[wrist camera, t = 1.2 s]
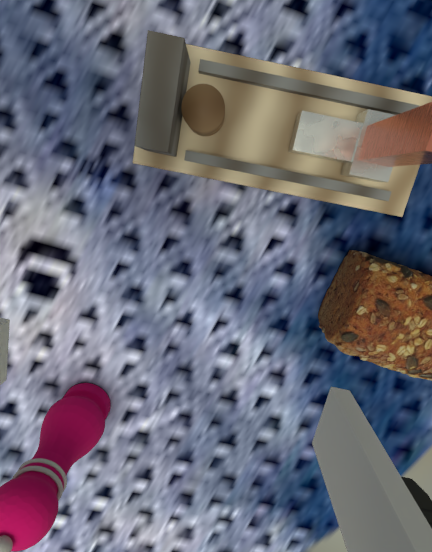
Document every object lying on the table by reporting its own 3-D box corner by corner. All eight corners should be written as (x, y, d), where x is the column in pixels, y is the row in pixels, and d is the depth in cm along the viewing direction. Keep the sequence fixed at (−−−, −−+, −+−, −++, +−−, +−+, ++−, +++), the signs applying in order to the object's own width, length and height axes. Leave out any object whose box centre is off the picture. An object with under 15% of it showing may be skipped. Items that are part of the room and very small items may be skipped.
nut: (181, 100, 34) (176, 90, 31) (219, 88, 34) (218, 78, 30) (192, 140, 36) (188, 136, 32) (228, 130, 35) (229, 124, 31)
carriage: (285, 163, 36) (324, 153, 22) (300, 102, 34) (351, 50, 21) (377, 182, 36) (469, 183, 23) (395, 122, 34) (507, 84, 21)
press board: (136, 163, 38) (115, 159, 30) (150, 41, 34) (132, 5, 27) (395, 215, 39) (435, 223, 32) (433, 102, 36) (487, 82, 28)
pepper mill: (75, 369, 45) (-34, 511, 26) (123, 395, 46) (53, 551, 27) (52, 408, 47) (-66, 569, 27) (99, 432, 48) (17, 604, 28)
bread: (310, 318, 43) (336, 358, 33) (348, 239, 40) (388, 258, 30) (441, 365, 44) (502, 416, 34) (486, 292, 41) (566, 326, 32)
